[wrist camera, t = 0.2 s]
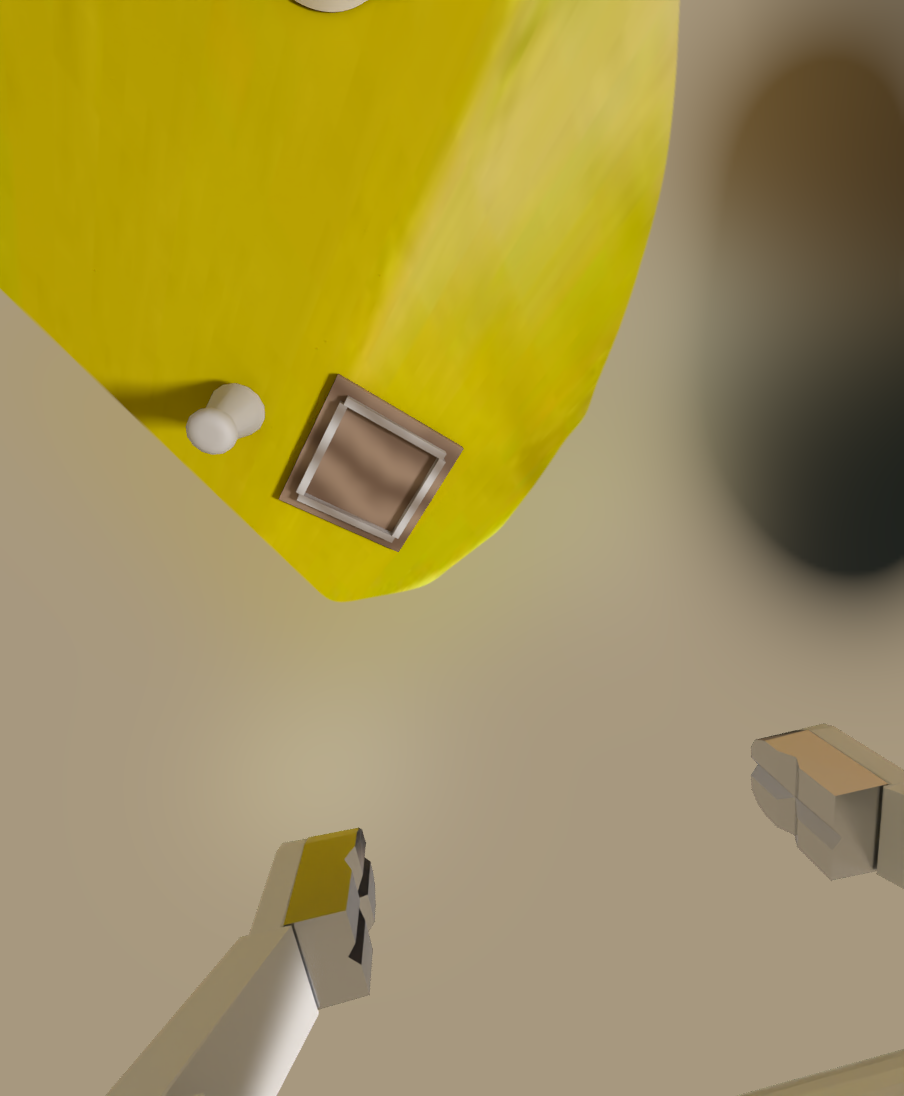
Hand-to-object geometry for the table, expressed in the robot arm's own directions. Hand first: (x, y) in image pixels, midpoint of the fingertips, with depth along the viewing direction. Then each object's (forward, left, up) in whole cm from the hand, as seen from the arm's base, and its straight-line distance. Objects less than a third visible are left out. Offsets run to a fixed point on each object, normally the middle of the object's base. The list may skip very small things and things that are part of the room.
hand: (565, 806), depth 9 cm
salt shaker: (+12, -15, -52) cm, 55 cm away
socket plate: (+12, +2, -52) cm, 53 cm away
